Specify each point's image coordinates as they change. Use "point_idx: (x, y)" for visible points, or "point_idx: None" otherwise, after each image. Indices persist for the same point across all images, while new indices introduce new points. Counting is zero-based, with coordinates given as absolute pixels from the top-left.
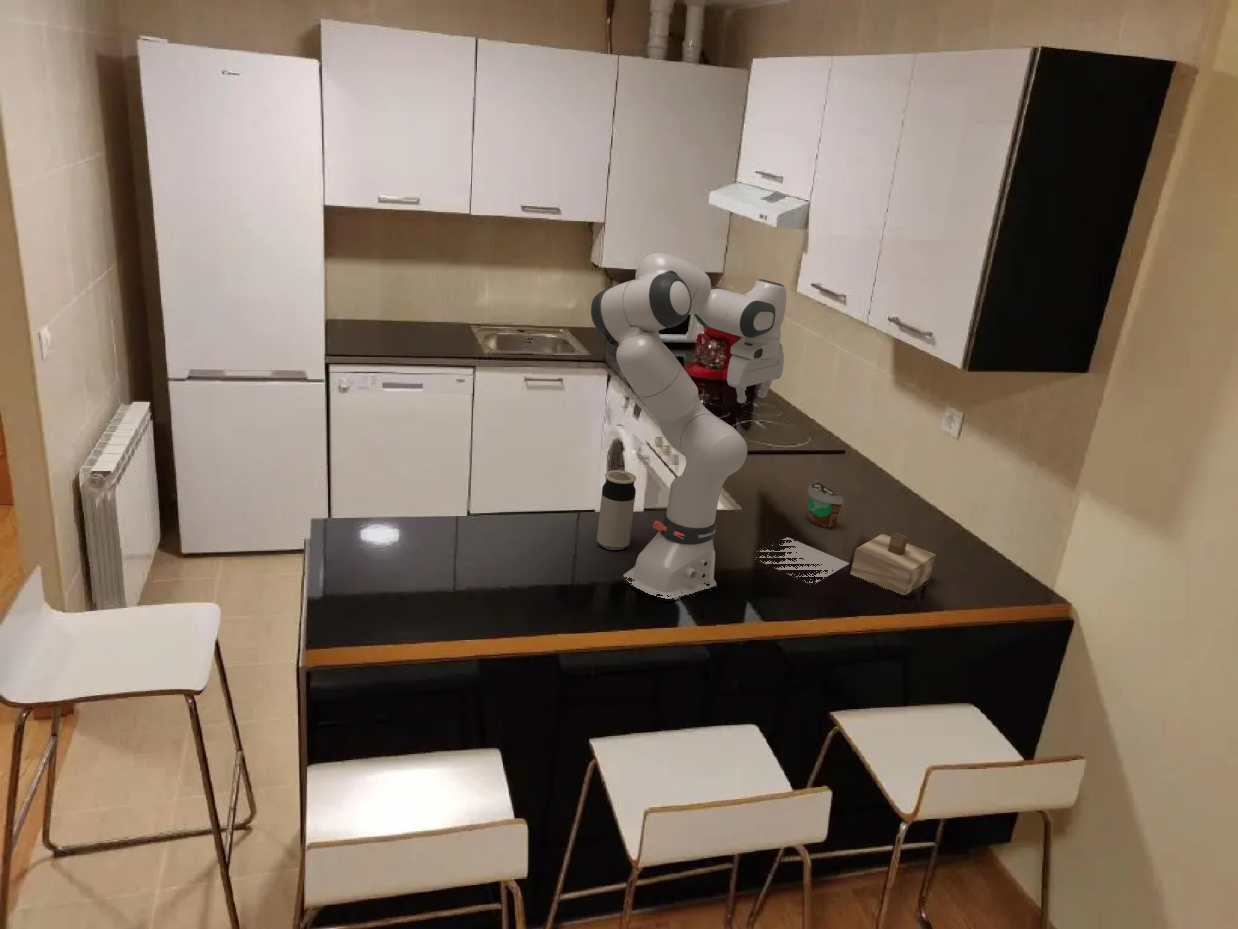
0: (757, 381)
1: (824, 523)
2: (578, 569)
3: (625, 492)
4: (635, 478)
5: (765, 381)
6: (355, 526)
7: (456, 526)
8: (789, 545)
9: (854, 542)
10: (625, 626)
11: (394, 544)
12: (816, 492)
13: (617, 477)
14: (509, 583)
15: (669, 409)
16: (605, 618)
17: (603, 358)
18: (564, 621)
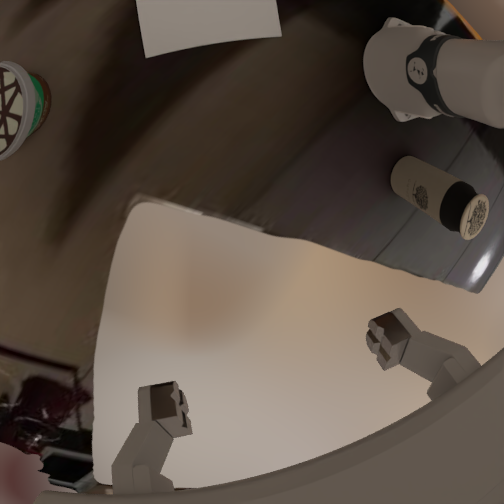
0: (395, 446)
1: (40, 78)
2: (457, 149)
3: (473, 189)
4: (473, 201)
5: (244, 483)
6: (478, 281)
7: (454, 265)
8: (172, 29)
9: (40, 18)
10: None
11: (486, 251)
12: (25, 105)
13: (481, 215)
14: (492, 163)
15: None
16: None
17: (97, 485)
18: None
